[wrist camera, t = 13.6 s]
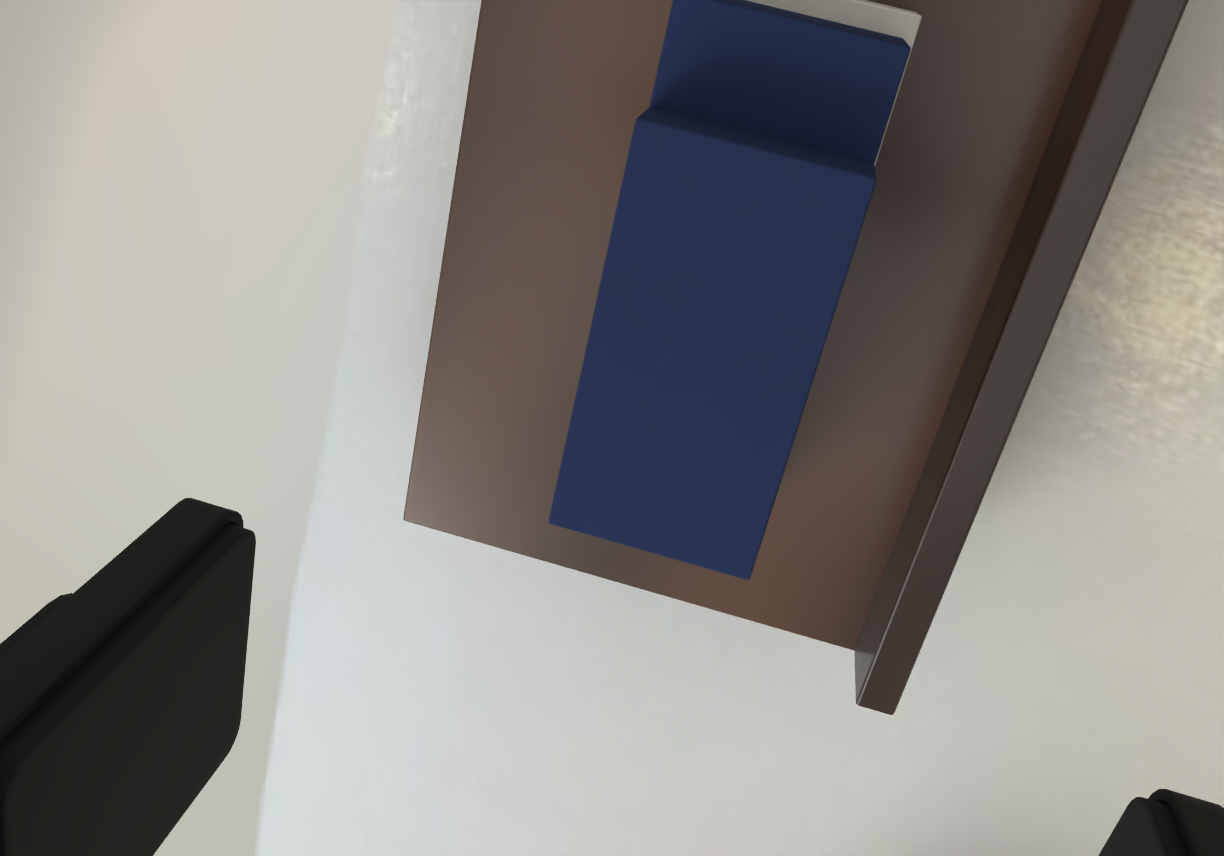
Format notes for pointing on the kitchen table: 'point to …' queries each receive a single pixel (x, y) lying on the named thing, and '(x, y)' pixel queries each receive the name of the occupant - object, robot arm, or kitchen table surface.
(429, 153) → the kitchen table surface
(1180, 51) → the kitchen table surface
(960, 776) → the kitchen table surface
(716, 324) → the two-tone stepped block
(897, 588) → the stand
